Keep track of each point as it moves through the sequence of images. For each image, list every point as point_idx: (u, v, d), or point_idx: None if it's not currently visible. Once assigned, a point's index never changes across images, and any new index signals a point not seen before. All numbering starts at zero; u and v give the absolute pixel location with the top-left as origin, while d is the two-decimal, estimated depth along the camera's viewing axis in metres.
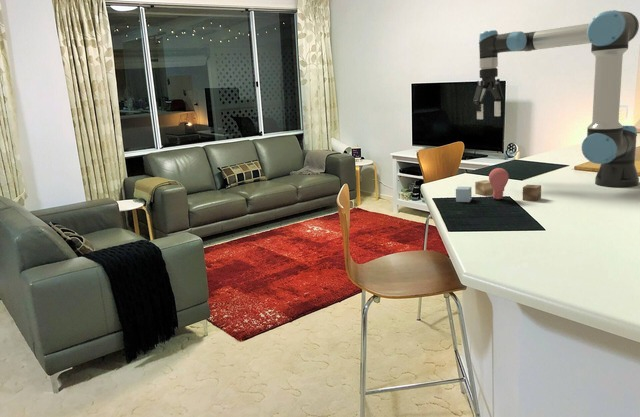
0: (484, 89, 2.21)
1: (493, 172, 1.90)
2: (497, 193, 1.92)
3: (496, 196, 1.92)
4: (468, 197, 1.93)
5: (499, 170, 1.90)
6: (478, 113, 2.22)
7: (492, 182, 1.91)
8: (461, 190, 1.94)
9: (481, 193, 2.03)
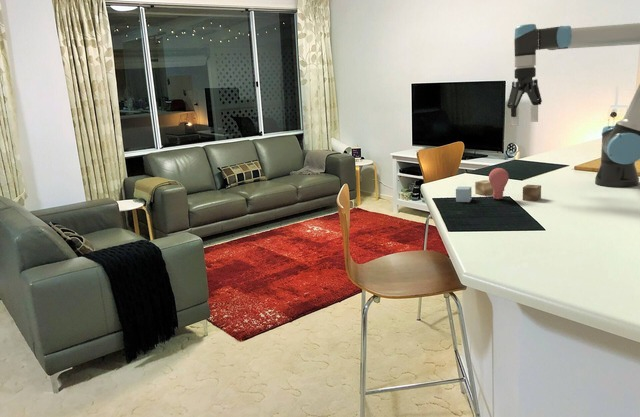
0: (520, 91, 1.94)
1: (493, 172, 1.90)
2: (497, 193, 1.92)
3: (496, 196, 1.92)
4: (468, 197, 1.93)
5: (499, 170, 1.90)
6: (513, 118, 1.95)
7: (492, 182, 1.91)
8: (461, 190, 1.94)
9: (481, 193, 2.03)
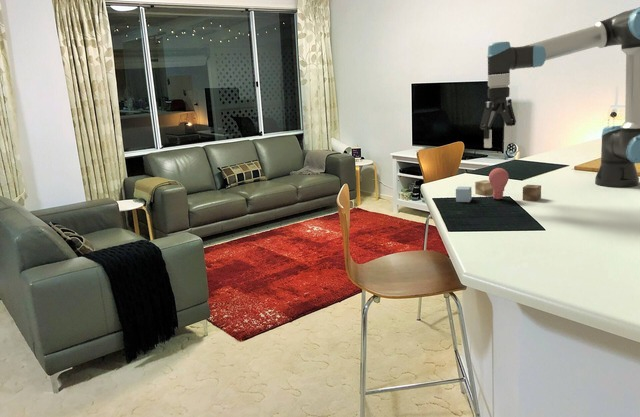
0: (493, 112, 1.84)
1: (493, 172, 1.90)
2: (497, 193, 1.92)
3: (496, 196, 1.92)
4: (468, 197, 1.93)
5: (499, 170, 1.90)
6: (486, 140, 1.85)
7: (492, 182, 1.91)
8: (461, 190, 1.94)
9: (481, 193, 2.03)
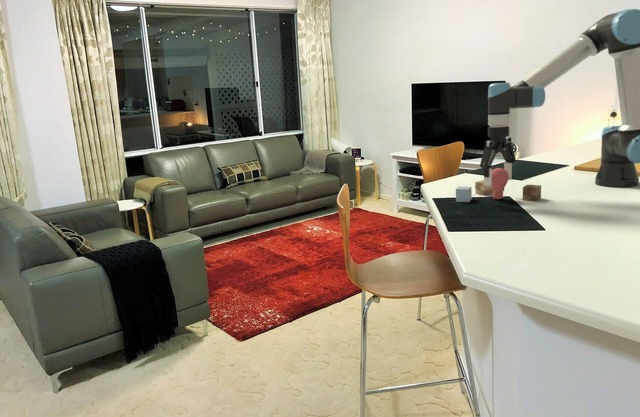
0: (493, 151, 1.87)
1: (493, 172, 1.90)
2: (497, 193, 1.92)
3: (496, 196, 1.92)
4: (468, 197, 1.93)
5: (499, 170, 1.90)
6: (486, 179, 1.88)
7: (492, 182, 1.91)
8: (461, 190, 1.94)
9: (481, 193, 2.03)
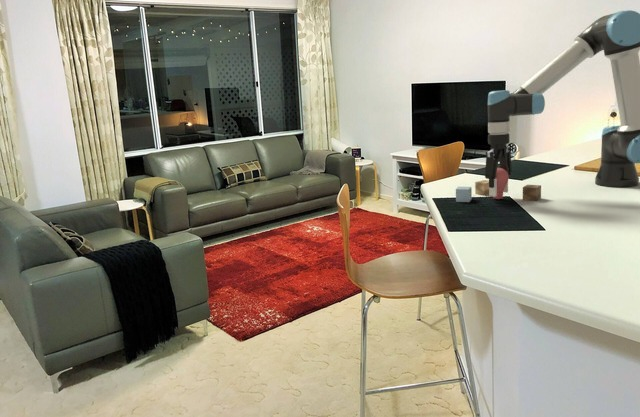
0: (495, 160, 1.88)
1: None
2: (497, 193, 1.92)
3: (496, 196, 1.92)
4: (468, 197, 1.93)
5: (499, 170, 1.90)
6: (491, 189, 1.91)
7: None
8: (461, 190, 1.94)
9: (481, 193, 2.03)
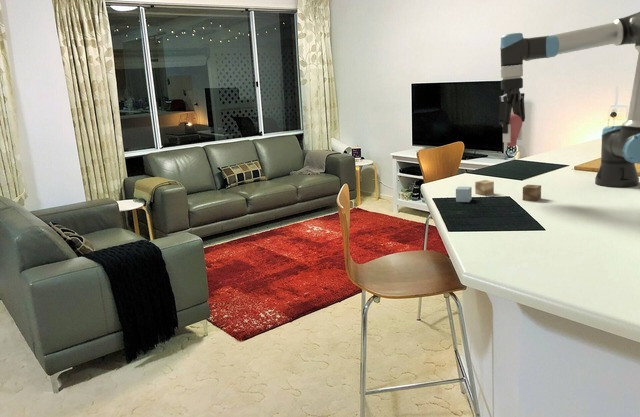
0: (508, 105, 1.86)
1: None
2: (511, 140, 1.89)
3: (510, 143, 1.90)
4: (468, 197, 1.93)
5: (513, 116, 1.87)
6: (504, 135, 1.88)
7: None
8: (461, 190, 1.94)
9: (481, 193, 2.03)
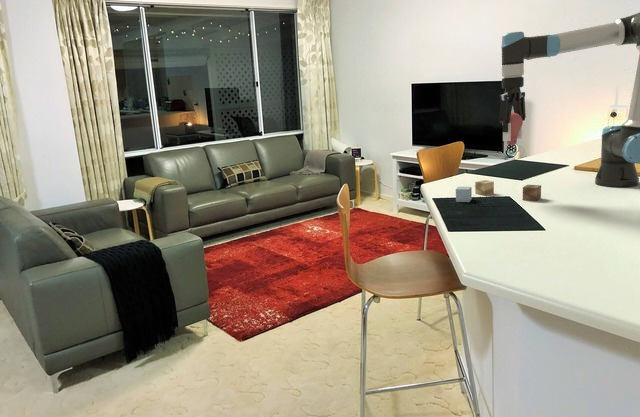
0: (509, 104, 1.86)
1: None
2: (511, 138, 1.90)
3: (510, 141, 1.90)
4: (468, 197, 1.93)
5: (513, 114, 1.87)
6: (505, 134, 1.88)
7: None
8: (461, 190, 1.94)
9: (481, 193, 2.03)
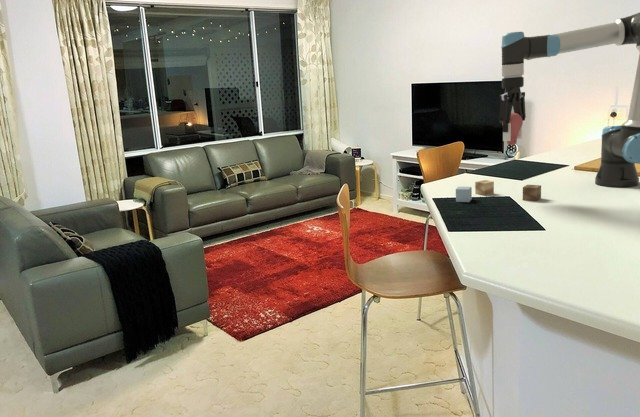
0: (509, 104, 1.86)
1: None
2: (511, 138, 1.90)
3: (510, 141, 1.90)
4: (468, 197, 1.93)
5: (513, 114, 1.87)
6: (505, 134, 1.88)
7: None
8: (461, 190, 1.94)
9: (481, 193, 2.03)
